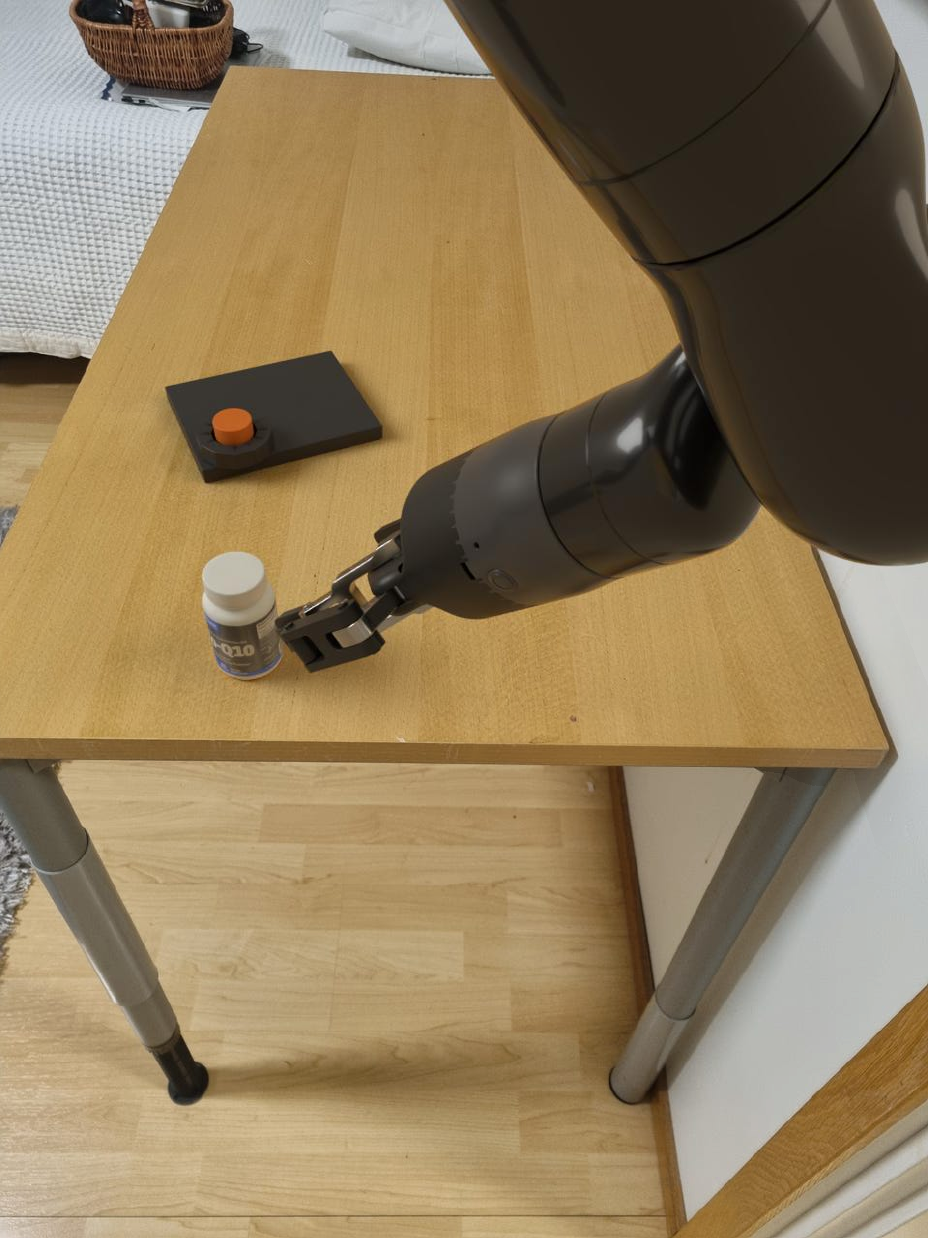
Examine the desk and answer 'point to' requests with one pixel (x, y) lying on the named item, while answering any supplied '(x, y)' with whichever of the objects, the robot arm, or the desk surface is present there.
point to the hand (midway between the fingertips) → (338, 587)
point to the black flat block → (274, 414)
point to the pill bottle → (241, 615)
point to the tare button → (233, 426)
